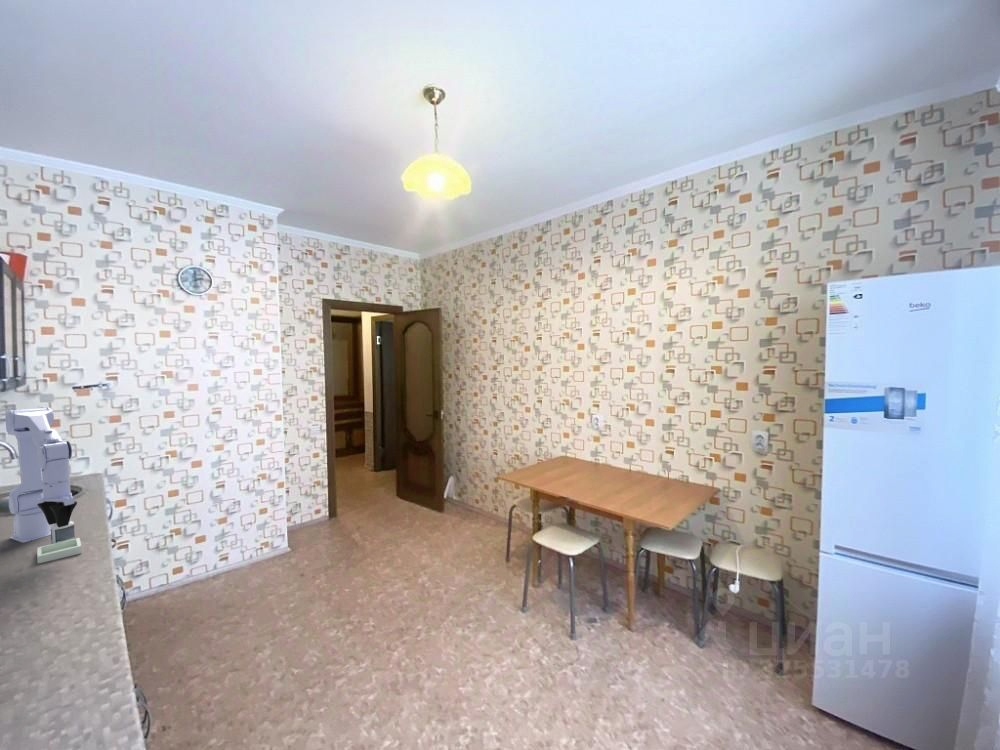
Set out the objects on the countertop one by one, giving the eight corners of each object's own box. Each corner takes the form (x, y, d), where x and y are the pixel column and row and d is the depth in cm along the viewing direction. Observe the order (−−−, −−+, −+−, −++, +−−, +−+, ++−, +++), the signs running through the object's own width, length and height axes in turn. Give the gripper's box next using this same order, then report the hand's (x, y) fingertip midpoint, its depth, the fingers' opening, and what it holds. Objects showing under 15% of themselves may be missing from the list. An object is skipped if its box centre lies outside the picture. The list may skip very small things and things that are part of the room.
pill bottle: (79, 540, 134) (78, 514, 134) (61, 547, 129) (59, 520, 129) (65, 539, 135) (64, 513, 134) (46, 547, 129) (45, 520, 129)
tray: (37, 554, 124) (37, 547, 124) (80, 544, 131) (79, 537, 131) (37, 564, 118) (37, 556, 118) (81, 553, 125) (81, 545, 125)
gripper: (25, 482, 122) (27, 526, 123) (50, 488, 117) (52, 533, 118) (57, 476, 129) (59, 517, 130) (82, 481, 124) (84, 524, 124)
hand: (58, 524), depth 124 cm, fingers open, 5 cm apart
